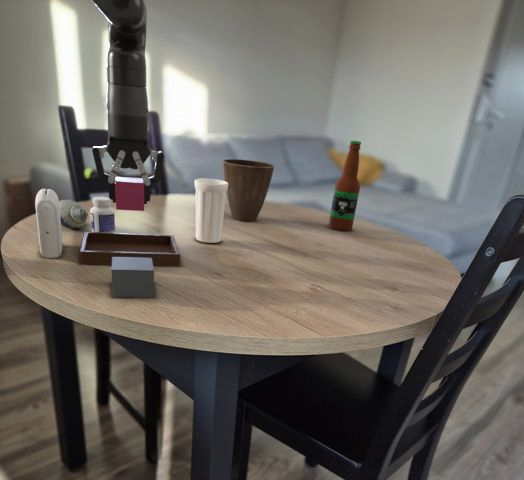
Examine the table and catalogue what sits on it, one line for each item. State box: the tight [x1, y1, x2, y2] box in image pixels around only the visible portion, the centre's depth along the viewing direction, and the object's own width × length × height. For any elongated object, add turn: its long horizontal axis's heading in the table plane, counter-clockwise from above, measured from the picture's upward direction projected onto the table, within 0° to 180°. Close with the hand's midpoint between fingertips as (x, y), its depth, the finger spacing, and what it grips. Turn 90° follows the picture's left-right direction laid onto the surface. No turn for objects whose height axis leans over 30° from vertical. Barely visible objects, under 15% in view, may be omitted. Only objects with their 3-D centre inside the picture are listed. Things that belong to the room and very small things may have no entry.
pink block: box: [115, 176, 145, 212], centre depth 99 cm, size 6×6×6 cm
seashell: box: [59, 198, 89, 230], centre depth 117 cm, size 6×8×12 cm
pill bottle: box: [89, 196, 116, 233], centre depth 112 cm, size 5×5×9 cm
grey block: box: [110, 257, 155, 298], centre depth 86 cm, size 7×7×5 cm
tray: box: [79, 231, 181, 267], centre depth 104 cm, size 20×15×3 cm
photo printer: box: [34, 188, 63, 259], centre depth 98 cm, size 10×4×12 cm, turn 20°
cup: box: [194, 177, 228, 244], centre depth 117 cm, size 8×8×14 cm
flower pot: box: [222, 158, 275, 222], centre depth 143 cm, size 15×15×16 cm
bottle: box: [328, 140, 362, 232], centre depth 143 cm, size 7×7×25 cm
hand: (129, 202), depth 99 cm, fingers closed on pink block, 5 cm apart
